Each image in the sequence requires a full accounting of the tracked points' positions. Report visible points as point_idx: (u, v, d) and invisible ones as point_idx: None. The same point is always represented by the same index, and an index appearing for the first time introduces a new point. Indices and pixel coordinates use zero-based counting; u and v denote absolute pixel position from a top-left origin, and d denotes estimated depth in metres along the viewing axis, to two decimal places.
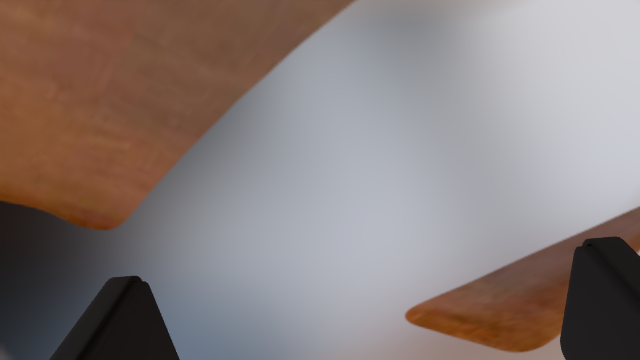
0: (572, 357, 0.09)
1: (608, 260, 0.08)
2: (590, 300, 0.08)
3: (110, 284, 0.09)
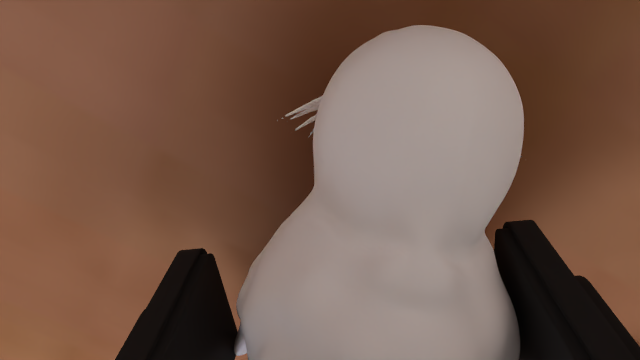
0: None
1: (518, 240, 0.08)
2: (505, 277, 0.09)
3: (181, 255, 0.09)
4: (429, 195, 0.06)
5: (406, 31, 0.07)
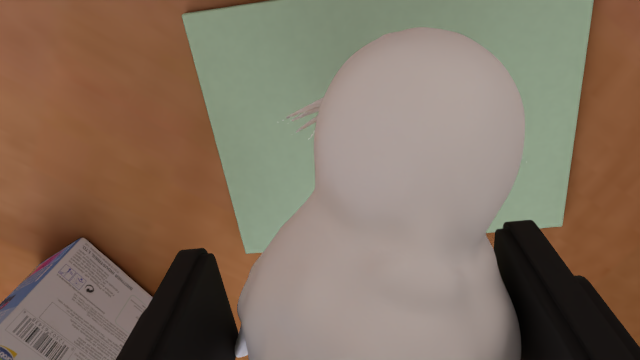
0: None
1: (517, 240, 0.08)
2: (505, 277, 0.09)
3: (181, 255, 0.09)
4: (430, 199, 0.06)
5: (407, 33, 0.07)
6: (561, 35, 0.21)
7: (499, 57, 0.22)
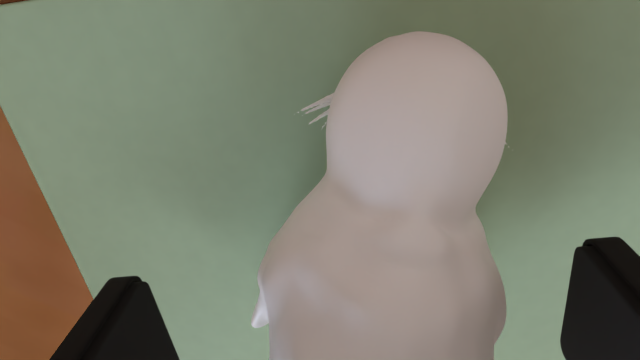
0: (573, 357, 0.09)
1: (608, 260, 0.08)
2: (590, 300, 0.08)
3: (110, 284, 0.09)
4: (425, 173, 0.07)
5: (406, 36, 0.08)
6: None
7: (563, 97, 0.11)
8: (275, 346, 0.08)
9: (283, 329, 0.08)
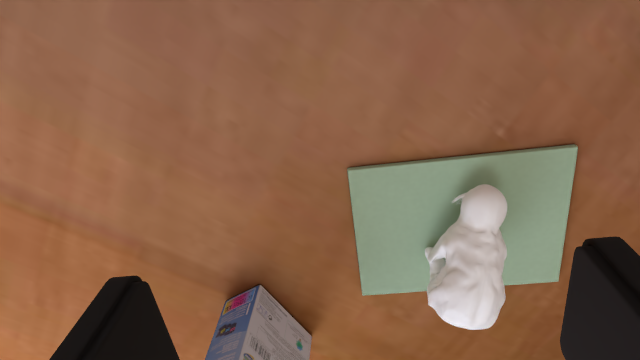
0: (572, 357, 0.09)
1: (608, 260, 0.08)
2: (590, 300, 0.08)
3: (110, 284, 0.09)
4: (490, 221, 0.35)
5: (484, 189, 0.36)
6: (557, 184, 0.38)
7: (523, 194, 0.39)
8: (453, 260, 0.36)
9: (456, 256, 0.36)
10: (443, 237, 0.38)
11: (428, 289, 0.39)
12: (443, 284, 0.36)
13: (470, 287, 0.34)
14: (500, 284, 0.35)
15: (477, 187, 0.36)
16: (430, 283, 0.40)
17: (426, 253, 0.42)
